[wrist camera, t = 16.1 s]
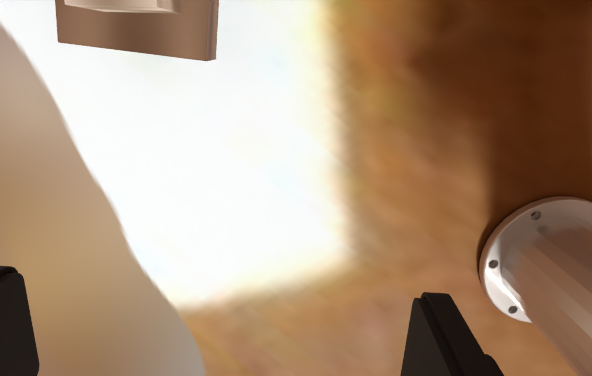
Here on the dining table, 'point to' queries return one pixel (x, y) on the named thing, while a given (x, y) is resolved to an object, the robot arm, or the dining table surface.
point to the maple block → (129, 5)
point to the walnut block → (144, 29)
